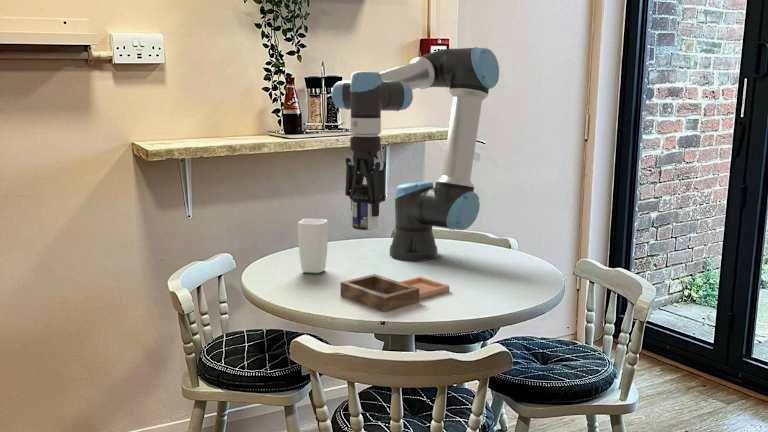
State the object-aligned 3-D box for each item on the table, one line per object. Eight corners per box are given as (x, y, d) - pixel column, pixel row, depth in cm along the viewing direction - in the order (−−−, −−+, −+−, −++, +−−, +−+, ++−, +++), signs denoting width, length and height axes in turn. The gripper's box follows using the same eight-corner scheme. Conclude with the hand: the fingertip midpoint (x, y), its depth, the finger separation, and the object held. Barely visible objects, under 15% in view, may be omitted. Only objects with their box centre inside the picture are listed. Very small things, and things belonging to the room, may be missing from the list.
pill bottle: (379, 227, 174) (380, 184, 172) (370, 231, 168) (371, 187, 166) (357, 225, 176) (358, 182, 174) (348, 229, 170) (348, 185, 168)
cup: (297, 274, 192) (296, 223, 189) (306, 267, 199) (305, 218, 196) (321, 276, 190) (320, 224, 187) (329, 269, 197) (329, 219, 194)
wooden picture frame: (340, 295, 173) (340, 282, 172) (374, 286, 180) (374, 274, 180) (384, 312, 160) (384, 297, 160) (419, 302, 168) (419, 288, 167)
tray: (389, 290, 177) (389, 284, 177) (419, 282, 185) (419, 276, 184) (419, 300, 169) (419, 294, 169) (449, 291, 176) (449, 285, 176)
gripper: (331, 133, 173) (331, 222, 177) (377, 138, 158) (376, 234, 162) (354, 132, 177) (354, 219, 182) (401, 137, 163) (400, 231, 167)
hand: (364, 226), depth 172 cm, fingers closed on pill bottle, 6 cm apart
